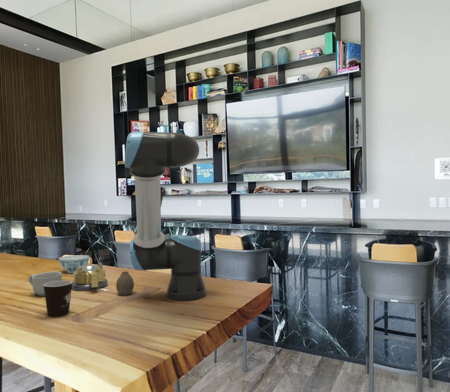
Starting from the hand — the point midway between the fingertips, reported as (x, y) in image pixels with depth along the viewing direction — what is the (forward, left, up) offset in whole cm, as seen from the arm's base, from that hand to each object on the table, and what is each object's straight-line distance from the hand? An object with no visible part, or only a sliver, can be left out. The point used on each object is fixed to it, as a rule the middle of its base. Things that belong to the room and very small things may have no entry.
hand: (152, 223), depth 164 cm
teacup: (-14, +43, -27) cm, 52 cm away
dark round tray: (-5, +27, -26) cm, 38 cm away
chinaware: (+30, +42, -27) cm, 58 cm away
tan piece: (-8, +26, -24) cm, 36 cm away
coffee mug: (-41, +28, -27) cm, 56 cm away
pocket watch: (+12, +28, -27) cm, 40 cm away
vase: (-21, +10, -27) cm, 35 cm away
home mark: (-14, +19, -26) cm, 35 cm away
